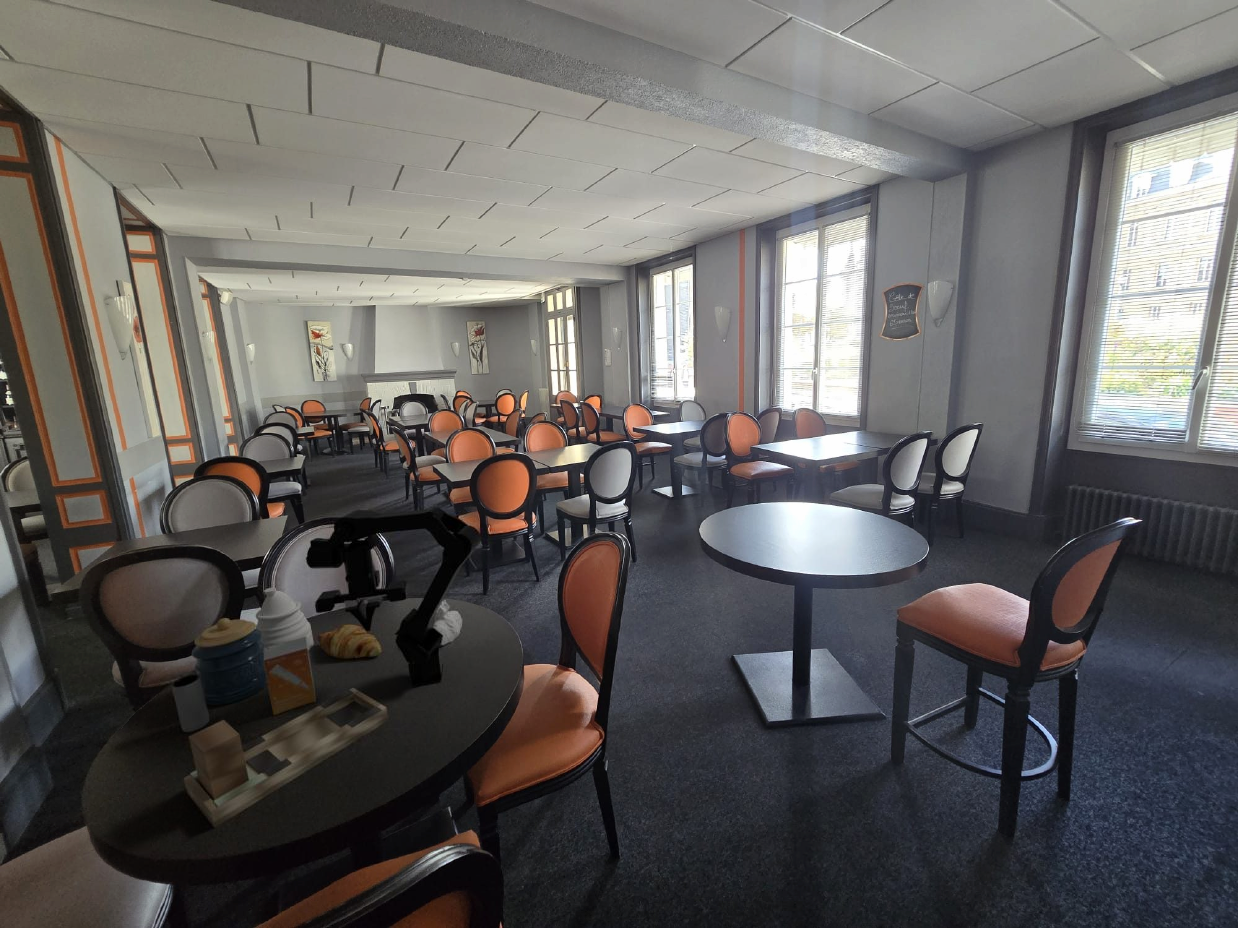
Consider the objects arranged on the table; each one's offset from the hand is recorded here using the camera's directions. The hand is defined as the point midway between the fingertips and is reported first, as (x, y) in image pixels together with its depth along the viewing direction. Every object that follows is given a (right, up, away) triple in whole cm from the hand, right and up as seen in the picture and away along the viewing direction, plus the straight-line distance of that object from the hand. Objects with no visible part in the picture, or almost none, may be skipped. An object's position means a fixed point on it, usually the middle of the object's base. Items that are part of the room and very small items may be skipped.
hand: (368, 630), depth 121 cm
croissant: (-12, -11, +15) cm, 22 cm away
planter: (-31, -16, -12) cm, 37 cm away
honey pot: (-30, -11, +17) cm, 36 cm away
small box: (-14, -14, -5) cm, 21 cm away
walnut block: (-10, -17, -31) cm, 37 cm away
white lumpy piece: (+12, -8, +19) cm, 24 cm away
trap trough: (-4, -17, -22) cm, 28 cm away
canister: (-31, -14, +1) cm, 34 cm away
